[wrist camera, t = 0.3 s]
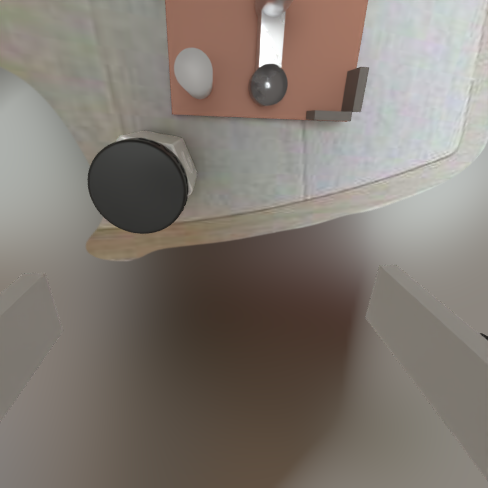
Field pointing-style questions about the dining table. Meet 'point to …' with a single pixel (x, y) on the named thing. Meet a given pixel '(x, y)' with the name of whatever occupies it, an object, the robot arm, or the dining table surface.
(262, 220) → the dining table surface
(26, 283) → the robot arm
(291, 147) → the dining table surface
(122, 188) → the jar
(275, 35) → the shiny metal angled handle
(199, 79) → the seat
